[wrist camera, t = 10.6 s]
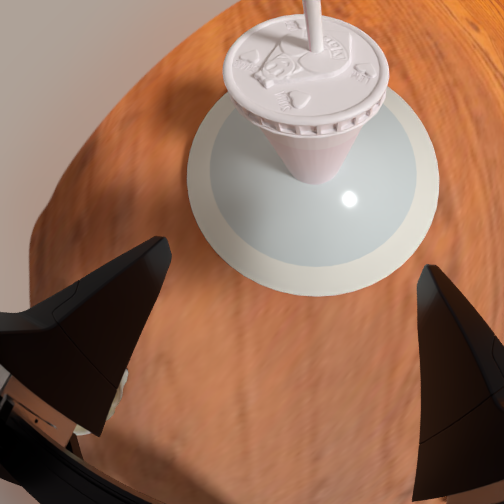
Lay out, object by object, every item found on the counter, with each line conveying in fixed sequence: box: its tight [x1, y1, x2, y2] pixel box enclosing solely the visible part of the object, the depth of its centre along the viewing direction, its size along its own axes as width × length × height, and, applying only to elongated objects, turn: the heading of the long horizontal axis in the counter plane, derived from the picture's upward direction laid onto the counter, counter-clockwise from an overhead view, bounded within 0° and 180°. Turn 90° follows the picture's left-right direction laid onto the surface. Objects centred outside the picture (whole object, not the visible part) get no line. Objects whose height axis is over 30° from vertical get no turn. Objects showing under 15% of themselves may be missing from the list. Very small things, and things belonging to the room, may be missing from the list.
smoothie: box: [223, 0, 389, 185], centre depth 11 cm, size 6×6×14 cm
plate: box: [187, 86, 439, 296], centre depth 18 cm, size 18×18×1 cm
